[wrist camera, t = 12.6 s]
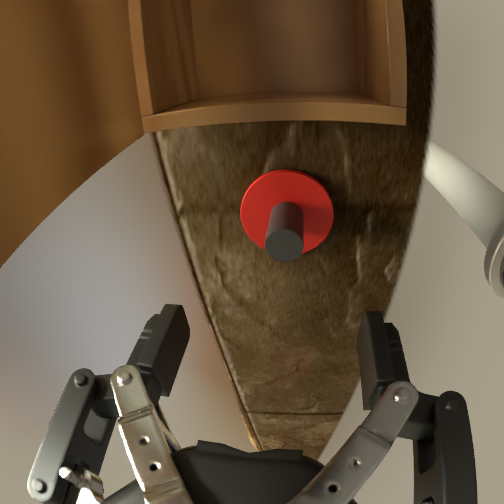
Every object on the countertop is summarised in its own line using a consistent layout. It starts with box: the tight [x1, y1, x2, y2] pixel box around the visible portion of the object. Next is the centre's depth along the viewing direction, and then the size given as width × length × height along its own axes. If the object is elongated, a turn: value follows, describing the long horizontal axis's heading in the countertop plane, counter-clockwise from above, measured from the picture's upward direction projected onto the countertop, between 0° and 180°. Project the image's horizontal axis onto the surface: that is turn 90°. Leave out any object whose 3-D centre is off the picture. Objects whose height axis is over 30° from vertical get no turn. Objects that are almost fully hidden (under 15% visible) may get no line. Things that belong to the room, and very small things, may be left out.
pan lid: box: [241, 169, 334, 262], centre depth 20 cm, size 7×7×5 cm
